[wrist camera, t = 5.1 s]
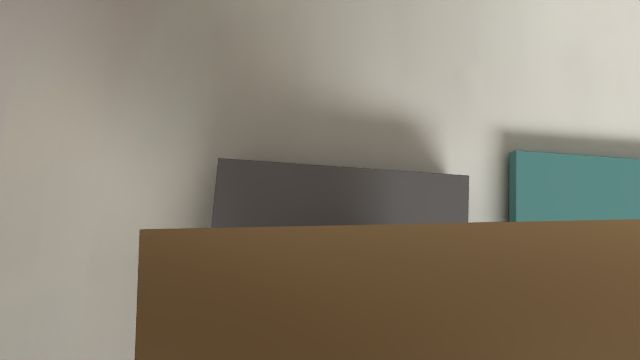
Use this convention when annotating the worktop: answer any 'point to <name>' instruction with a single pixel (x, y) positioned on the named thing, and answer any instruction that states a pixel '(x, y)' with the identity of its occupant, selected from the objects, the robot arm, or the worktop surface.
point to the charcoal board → (333, 196)
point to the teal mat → (572, 187)
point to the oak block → (391, 292)
